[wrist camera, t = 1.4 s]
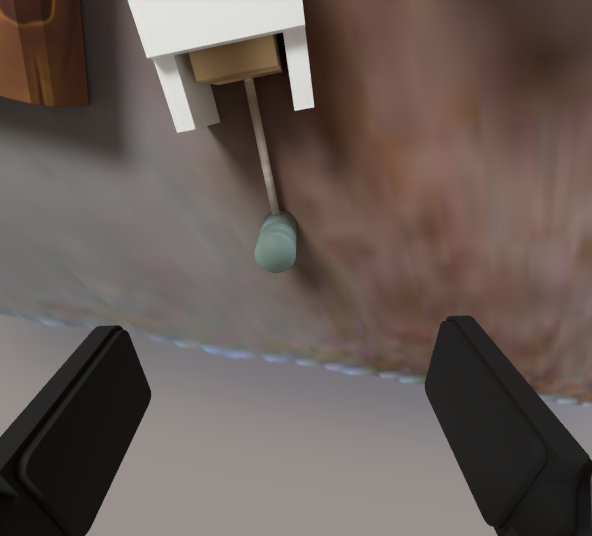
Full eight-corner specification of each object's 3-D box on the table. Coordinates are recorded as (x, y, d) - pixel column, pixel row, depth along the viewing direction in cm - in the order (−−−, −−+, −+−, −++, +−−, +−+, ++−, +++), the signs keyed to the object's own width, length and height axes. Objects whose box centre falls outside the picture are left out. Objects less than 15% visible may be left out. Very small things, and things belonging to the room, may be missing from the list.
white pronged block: (288, -79, 19) (282, -172, 12) (311, 105, 24) (314, 107, 17) (158, -47, 19) (88, -119, 13) (206, 124, 24) (172, 134, 18)
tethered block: (269, -16, 20) (257, -57, 15) (308, 237, 29) (310, 268, 24) (197, 0, 20) (161, -34, 15) (258, 245, 29) (248, 276, 24)
